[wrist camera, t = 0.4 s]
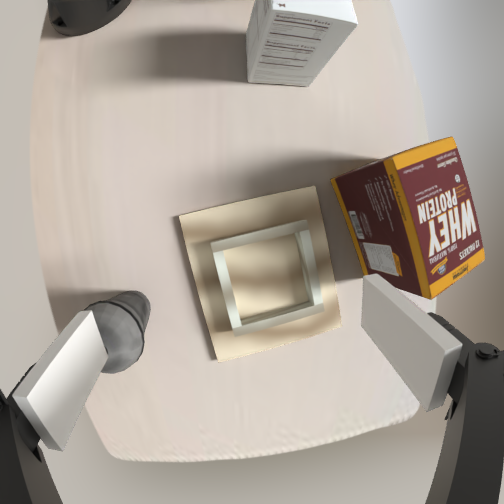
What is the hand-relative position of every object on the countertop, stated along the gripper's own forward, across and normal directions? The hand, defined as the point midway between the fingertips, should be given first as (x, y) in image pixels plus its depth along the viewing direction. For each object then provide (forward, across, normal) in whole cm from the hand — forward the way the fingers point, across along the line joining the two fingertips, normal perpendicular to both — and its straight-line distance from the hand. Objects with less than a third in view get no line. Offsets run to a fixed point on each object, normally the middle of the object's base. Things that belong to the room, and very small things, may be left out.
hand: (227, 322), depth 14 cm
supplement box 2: (+28, +22, -2) cm, 35 cm away
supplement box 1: (+32, +10, +22) cm, 40 cm away
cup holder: (+25, +4, -8) cm, 27 cm away
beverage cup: (+24, -14, -9) cm, 29 cm away
